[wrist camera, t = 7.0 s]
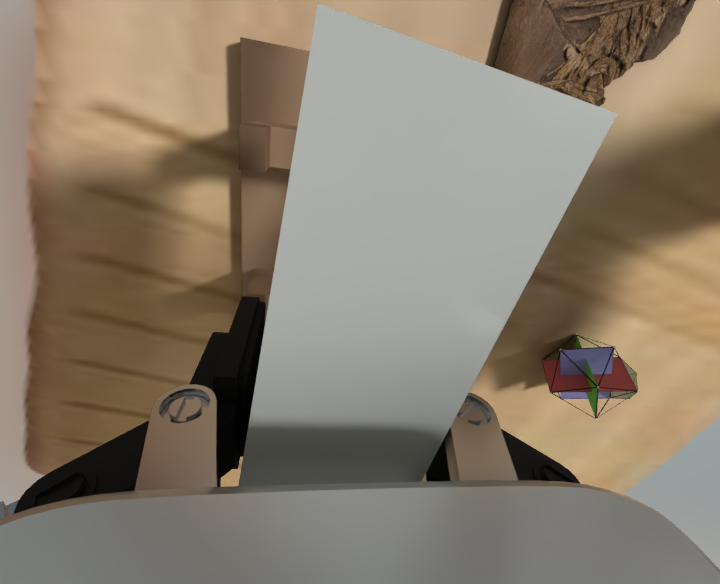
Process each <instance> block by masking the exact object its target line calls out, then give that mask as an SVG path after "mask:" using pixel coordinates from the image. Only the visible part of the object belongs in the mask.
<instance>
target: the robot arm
mask: <svg viewBox="0 0 720 584" xmlns="http://www.w3.org/2000/svg"><path fill="white" fill-rule="evenodd" d="M265 308H266V303H265V302H261V301H260V298H259V297H249V296H242V299H241V301H240V304H239V307H238V309H237V312H236V315H235V317H234V320H233V323H232V325H231V328H230V331H229V333H222V332H214V333H213V334H212V335H211V337H210V340H209V342H208V344H207V346H206V349H205V351H204V353H203V355H202V358H201V360H200V362H199V364H198V367H197V369H196V371H195V373H194V376H193V378H192V380H191V382H190V385H183V386H178V387H176V388H173V389H171V390H169V391H167V392H166V393H164V394H163V395H161V396H160V397H159V398H158V399H157V401H156V402H155V403H154V405H153V408H152V411H151V416H150V420H149V421H147V422H145V423H143V424H141V425H139V426H138V427H136V428H134V429H132V430H130V431H128V432H126V433H124V434H122V435H120V436H118V437H117V438H115V439H113V440H111V441H109V442H107V443H105V444H103V445H101V446H99V447H97V448H96V449H94V450H92V451H90V452H88V453H86V454H84V455H82V456H80V457H78V458H76V459H75V460H73V461H71V462H69V463H67V464H65V465H63V466H61V467H59V468H57V469H55V470H54V471H52V472H50V473H48V474H47V475H45V476H44V477H42V478H41V479H39V480H37V481H36V482H35V483H34V484H33V485H32V486H31V487H30V488H29V489H27V490H26V492H25V493H24V494H23V496H22V497H21V498H20V500H18V501H16V502H13V503H11V504H9V505H7V506H6V505H5V504H4V502H3V501H2V502H0V584H720V569H719V568H718V567H717V566H716V565H715V564H714V563H713V562H712V561H711V560H710V559H709V558H708V557H707V556H706V555H705V554H704V553H703V552H702V551H701V550H700V548H698V546H697V545H696V544H695V543H694V542H693V541H692V540H690V538H689V537H687V536H686V535H685V534H684V533H683V532H682V531H681V530H680V529H679V528H678V527H676V526H675V525H674V524H673V523H672V522H671V521H669V520H668V519H667V518H666V517H665V516H663V515H662V514H660V513H659V512H657V511H656V510H654V509H653V508H651V507H649V506H647V505H645V504H643V503H641V502H639V501H637V500H634V499H632V498H630V497H628V496H625V495H622V494H619V493H616V492H613V491H610V490H607V489H603V488H598V487H594V486H589V485H585V484H580V482H579V481H578V479H577V478H576V477H575V476H574V475H573V474H572V473H571V472H570V471H569V470H568V469H566V468H565V467H564V466H562V465H561V464H559V463H558V462H556V461H554V460H553V459H551V458H549V457H548V456H546V455H544V454H543V453H541V452H539V451H537V450H536V449H534V448H532V447H531V446H529V445H527V444H526V443H524V442H522V441H521V440H519V439H517V438H516V437H514V436H512V435H511V434H509V433H507V432H506V431H504V430H502V429H501V428H500V425H499V422H498V419H497V416H496V413H495V412H494V410H493V408H492V407H491V406H490V405H489V403H488V402H486V401H485V400H484V399H482V398H481V397H479V396H477V395H475V394H472V393H468V395H467V397H466V399H465V401H464V402H463V404H462V406H461V408H460V410H459V412H458V414H457V416H456V417H455V419H454V421H453V423H452V425H451V427H450V429H449V431H448V432H447V434H446V436H445V438H444V440H443V442H442V444H441V446H440V447H439V449H438V451H437V453H436V455H435V457H434V459H433V461H432V462H431V464H430V466H429V468H428V470H427V472H426V474H425V476H424V477H423V479H422V481H421V482H383V483H342V484H302V485H269V486H236V487H221V477H222V476H224V475H225V474H226V473H228V472H229V471H230V470H232V469H238V465H239V460H240V456H244V450H245V444H246V438H247V432H248V425H249V419H250V413H251V407H252V401H253V395H254V389H255V383H256V377H257V371H258V365H259V358H260V352H261V346H262V340H263V334H264V328H265Z"/></svg>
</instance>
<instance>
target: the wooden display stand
mask: <svg viewBox="0 0 720 584" xmlns="http://www.w3.org/2000/svg"><path fill="white" fill-rule="evenodd" d="M240 41H241V124H239V169H241V207H242V296H249V297H259V298H260V301H261V302H265V303H266V308H265V322H266V316H267V310H268V304H269V298H270V291H271V285H272V279H273V273H274V267H275V261H276V255H277V249H278V243H279V237H280V231H281V224H282V218H283V212H284V206H285V200H286V194H287V188H288V182H289V176H290V170H291V164H292V157H293V151H294V145H295V139H296V133H297V127H298V121H299V115H300V109H301V103H302V97H303V91H304V84H305V78H306V72H307V66H308V60H309V54H310V51H305V50H300V49H295V48H290V47H286V46H281V45H276V44H271V43H266V42H261V41H256V40H251V39H246V38H241V37H240Z"/></svg>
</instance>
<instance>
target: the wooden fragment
mask: <svg viewBox="0 0 720 584" xmlns="http://www.w3.org/2000/svg"><path fill="white" fill-rule="evenodd" d="M695 1H696V0H513V2H512V5H511V9H510V13H509V16H508V21H507V23H506V27H505V31H504V34H503V37H502V40H501V44H500V47H499V52H498V55H497V58H496V62H495V65H494V68H495V69H498V70H501V71H504V72H506V73H509V74H512V75H514V76H517V77H520V78H523V79H525V80H528V81H531V82H533V83H536V84H539V85H542V86H544V87H547V88H550V89H552V90H555V91H558V92H560V93H563V94H566V95H569V96H571V97H574V98H577V99H579V100H582V101H585V102H588V103H590V104H593V105H596V106H598V107H599V106H600V105H602V104H604V102H605V99H606V98H604V89H603V88H605V87H606V86H607V85H609V84H610V83H611V81H612V80H614V79H617V78H619V77H621V76H623V74H624V73H625V72H626V71H627V70H629V69H630V68H631V67H632V66H633V64H634V62H637V61H644V60H653V59H654V58H655V57H657V56H658V55H659V54H660V53H661V52H662V51H663V50H664V49H665V48H666V47H667V46H668V45H669V44H670V42H671V41H672V40H673V39H674V38H675V37H676V36H677V35H679V34H680V31H681V27H682V26H683V24H684V22H685V19H686V17H687V15H688V14H689V12H690V11H691V10H692V7H693V5H694V2H695Z"/></svg>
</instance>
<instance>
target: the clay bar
mask: <svg viewBox="0 0 720 584" xmlns="http://www.w3.org/2000/svg"><path fill="white" fill-rule="evenodd" d="M616 116H617V113H615V112H612V111H609V110H607V109H604V108H601V107H598V106H596V105H593V104H590V103H588V102H585V101H582V100H579V99H577V98H574V97H571V96H569V95H566V94H563V93H560V92H558V91H555V90H552V89H550V88H547V87H544V86H542V85H539V84H536V83H533V82H531V81H528V80H525V79H523V78H520V77H517V76H514V75H512V74H509V73H506V72H504V71H501V70H498V69H495V68H493V67H490V66H487V65H485V64H482V63H479V62H476V61H474V60H471V59H468V58H466V57H463V56H460V55H457V54H455V53H452V52H449V51H447V50H444V49H441V48H438V47H436V46H433V45H430V44H428V43H425V42H422V41H420V40H417V39H414V38H411V37H409V36H406V35H403V34H401V33H398V32H395V31H392V30H390V29H387V28H384V27H382V26H379V25H376V24H373V23H371V22H368V21H365V20H363V19H360V18H357V17H354V16H352V15H349V14H346V13H344V12H341V11H338V10H335V9H333V8H330V7H327V6H325V5H322V4H319V3H318V5H317V11H316V17H315V24H314V30H313V36H312V42H311V48H310V54H309V60H308V66H307V72H306V78H305V84H304V91H303V97H302V103H301V109H300V115H299V121H298V127H297V133H296V139H295V145H294V151H293V157H292V164H291V170H290V176H289V182H288V188H287V194H286V200H285V206H284V212H283V218H282V224H281V231H280V237H279V243H278V249H277V255H276V261H275V267H274V273H273V279H272V285H271V291H270V298H269V304H268V310H267V316H266V322H265V328H264V334H263V340H262V346H261V352H260V358H259V365H258V371H257V377H256V383H255V389H254V395H253V401H252V407H251V413H250V419H249V425H248V432H247V438H246V444H245V450H244V456H243V462H242V468H241V474H240V480H239V486H269V485H302V484H342V483H383V482H421V481H422V479H423V477H424V476H425V474H426V472H427V470H428V468H429V466H430V464H431V462H432V461H433V459H434V457H435V455H436V453H437V451H438V449H439V447H440V446H441V444H442V442H443V440H444V438H445V436H446V434H447V432H448V431H449V429H450V427H451V425H452V423H453V421H454V419H455V417H456V416H457V414H458V412H459V410H460V408H461V406H462V404H463V402H464V401H465V399H466V397H467V395H468V393H469V391H470V389H471V387H472V386H473V384H474V382H475V380H476V378H477V376H478V374H479V372H480V371H481V369H482V367H483V365H484V363H485V361H486V359H487V357H488V356H489V354H490V352H491V350H492V348H493V346H494V344H495V342H496V341H497V339H498V337H499V335H500V333H501V331H502V329H503V327H504V326H505V324H506V322H507V320H508V318H509V316H510V314H511V312H512V311H513V309H514V307H515V305H516V303H517V301H518V299H519V297H520V296H521V294H522V292H523V290H524V288H525V286H526V284H527V282H528V281H529V279H530V277H531V275H532V273H533V271H534V269H535V268H536V266H537V264H538V262H539V260H540V258H541V256H542V254H543V253H544V251H545V249H546V247H547V245H548V243H549V241H550V239H551V238H552V236H553V234H554V232H555V230H556V228H557V226H558V224H559V223H560V221H561V219H562V217H563V215H564V213H565V211H566V209H567V208H568V206H569V204H570V202H571V200H572V198H573V196H574V194H575V193H576V191H577V189H578V187H579V185H580V183H581V181H582V179H583V178H584V176H585V174H586V172H587V170H588V168H589V166H590V164H591V163H592V161H593V159H594V157H595V155H596V153H597V151H598V149H599V148H600V146H601V144H602V142H603V140H604V138H605V136H606V134H607V133H608V131H609V129H610V127H611V125H612V123H613V121H614V119H615V118H616Z"/></svg>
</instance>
